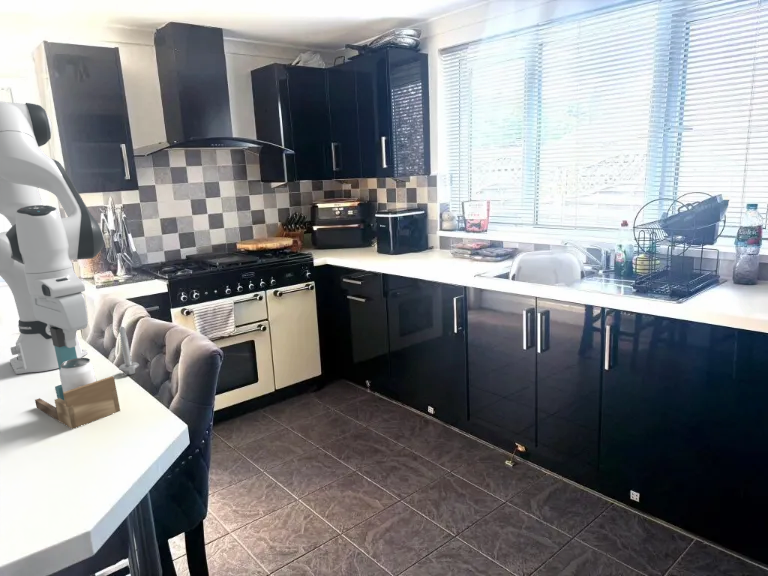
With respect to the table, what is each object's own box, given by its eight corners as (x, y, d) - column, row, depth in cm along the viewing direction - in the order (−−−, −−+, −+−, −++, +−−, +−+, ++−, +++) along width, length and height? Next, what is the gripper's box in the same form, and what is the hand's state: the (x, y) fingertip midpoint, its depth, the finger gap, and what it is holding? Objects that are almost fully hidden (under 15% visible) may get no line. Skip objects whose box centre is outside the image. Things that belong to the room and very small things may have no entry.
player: (59, 411, 120) (41, 329, 116) (89, 400, 125) (72, 322, 121) (65, 414, 118) (47, 331, 114) (95, 403, 123) (78, 323, 119)
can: (94, 403, 123) (85, 354, 120) (106, 412, 119) (96, 361, 116) (63, 414, 119) (53, 363, 116) (74, 423, 114) (63, 371, 111)
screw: (119, 378, 140) (120, 372, 144) (139, 374, 141) (140, 368, 146) (110, 330, 137) (112, 325, 141) (131, 326, 138) (132, 322, 143)
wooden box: (36, 407, 124) (29, 375, 122) (82, 392, 132) (75, 361, 130) (72, 429, 112) (64, 393, 110) (120, 410, 119) (113, 376, 117)
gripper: (18, 281, 119) (31, 341, 122) (54, 290, 106) (68, 356, 109) (49, 275, 123) (61, 333, 126) (87, 283, 110) (100, 347, 114)
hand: (65, 344), depth 118 cm, fingers open, 5 cm apart
